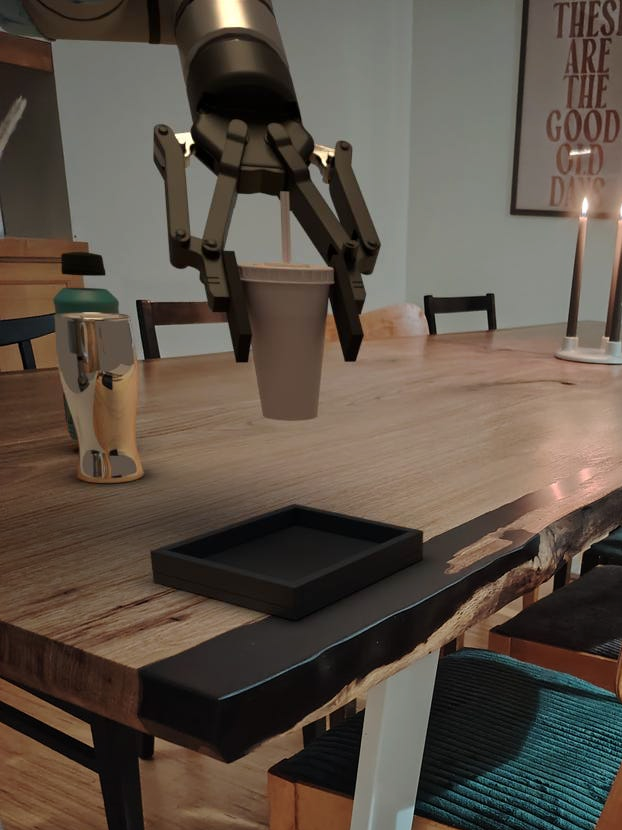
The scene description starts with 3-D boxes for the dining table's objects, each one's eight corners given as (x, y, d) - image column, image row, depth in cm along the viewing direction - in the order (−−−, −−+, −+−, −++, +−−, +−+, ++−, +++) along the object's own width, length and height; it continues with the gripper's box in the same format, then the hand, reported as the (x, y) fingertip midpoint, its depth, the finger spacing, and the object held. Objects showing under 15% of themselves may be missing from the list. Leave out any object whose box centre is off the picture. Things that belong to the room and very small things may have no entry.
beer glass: (153, 468, 95) (138, 313, 89) (142, 484, 88) (125, 319, 82) (81, 467, 93) (61, 310, 87) (65, 484, 87) (42, 317, 81)
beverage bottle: (60, 447, 101) (34, 249, 93) (120, 441, 105) (99, 251, 97) (84, 459, 97) (58, 252, 89) (145, 452, 101) (126, 254, 93)
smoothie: (253, 426, 60) (241, 187, 55) (234, 408, 65) (221, 189, 60) (348, 422, 63) (346, 194, 57) (323, 406, 68) (318, 195, 62)
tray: (295, 621, 59) (294, 587, 59) (153, 582, 65) (149, 550, 64) (422, 558, 72) (423, 530, 71) (295, 530, 77) (294, 503, 77)
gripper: (359, 140, 73) (426, 382, 66) (96, 116, 66) (140, 387, 59) (380, 51, 67) (457, 310, 60) (90, 14, 59) (140, 305, 52)
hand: (300, 348), depth 59 cm, fingers closed on smoothie, 6 cm apart
